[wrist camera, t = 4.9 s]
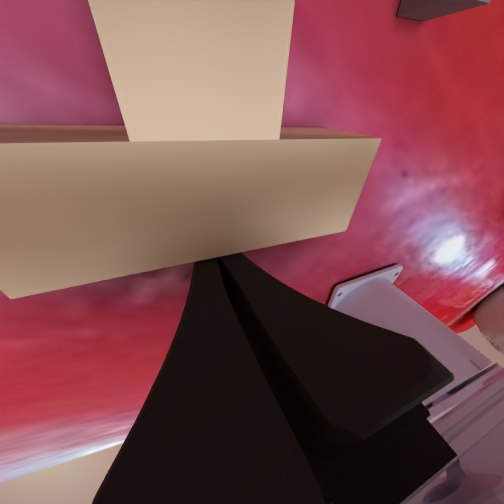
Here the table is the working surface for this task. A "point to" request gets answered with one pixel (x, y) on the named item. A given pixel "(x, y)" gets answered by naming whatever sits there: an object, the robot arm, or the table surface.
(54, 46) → the table surface
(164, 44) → the T block
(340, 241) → the table surface
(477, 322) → the chamber pot
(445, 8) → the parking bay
